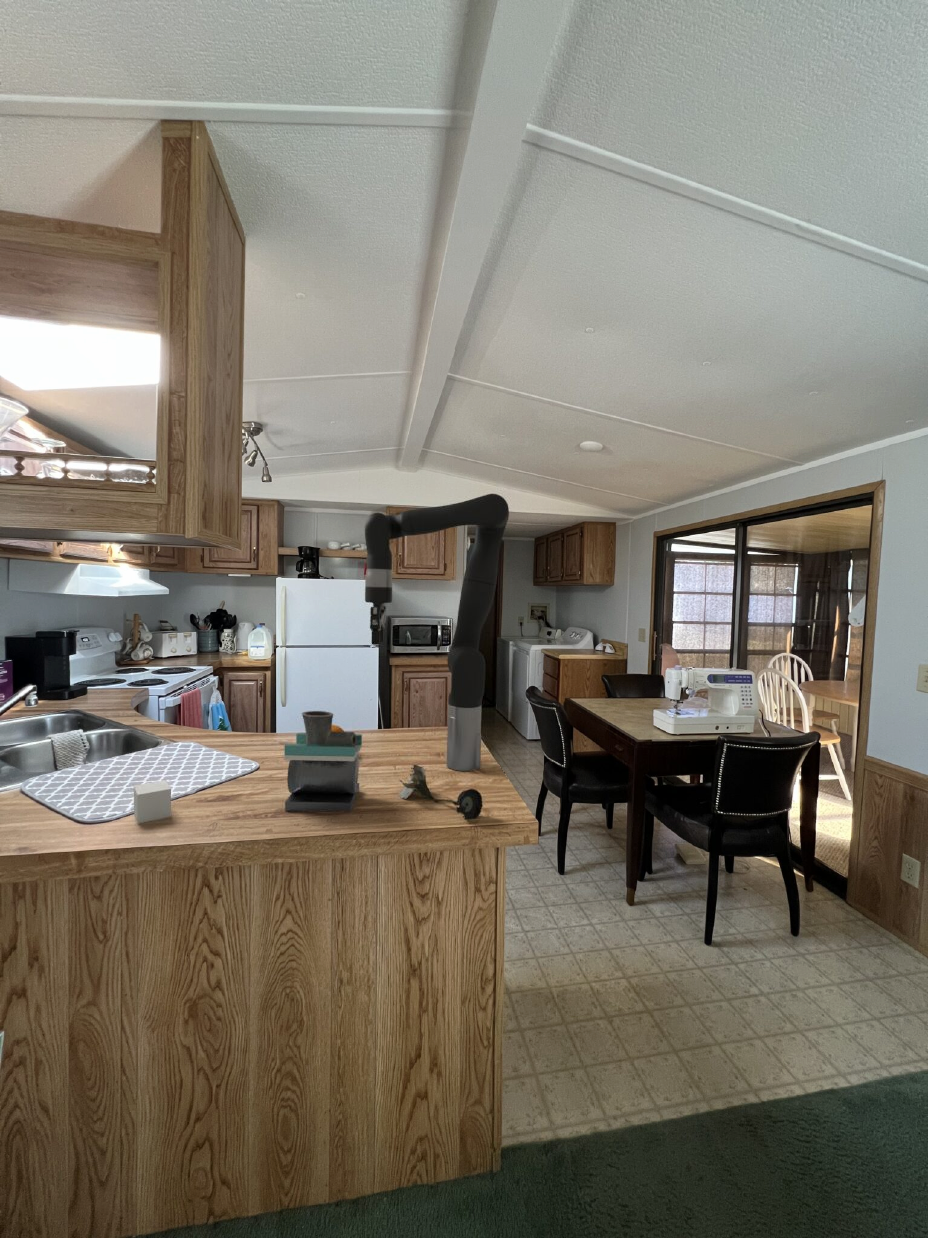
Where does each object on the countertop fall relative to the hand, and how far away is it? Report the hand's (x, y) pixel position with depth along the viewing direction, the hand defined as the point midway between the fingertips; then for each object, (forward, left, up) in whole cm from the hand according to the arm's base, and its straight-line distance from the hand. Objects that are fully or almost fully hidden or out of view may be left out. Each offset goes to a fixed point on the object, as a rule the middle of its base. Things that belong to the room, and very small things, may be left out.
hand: (377, 643), depth 151 cm
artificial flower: (-17, +33, -34) cm, 50 cm away
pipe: (+7, +31, -21) cm, 38 cm away
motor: (+8, +31, -33) cm, 46 cm away
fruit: (+14, -2, -33) cm, 36 cm away
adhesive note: (+41, +40, -33) cm, 66 cm away
